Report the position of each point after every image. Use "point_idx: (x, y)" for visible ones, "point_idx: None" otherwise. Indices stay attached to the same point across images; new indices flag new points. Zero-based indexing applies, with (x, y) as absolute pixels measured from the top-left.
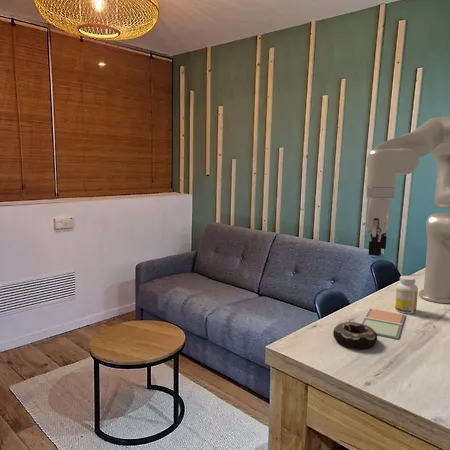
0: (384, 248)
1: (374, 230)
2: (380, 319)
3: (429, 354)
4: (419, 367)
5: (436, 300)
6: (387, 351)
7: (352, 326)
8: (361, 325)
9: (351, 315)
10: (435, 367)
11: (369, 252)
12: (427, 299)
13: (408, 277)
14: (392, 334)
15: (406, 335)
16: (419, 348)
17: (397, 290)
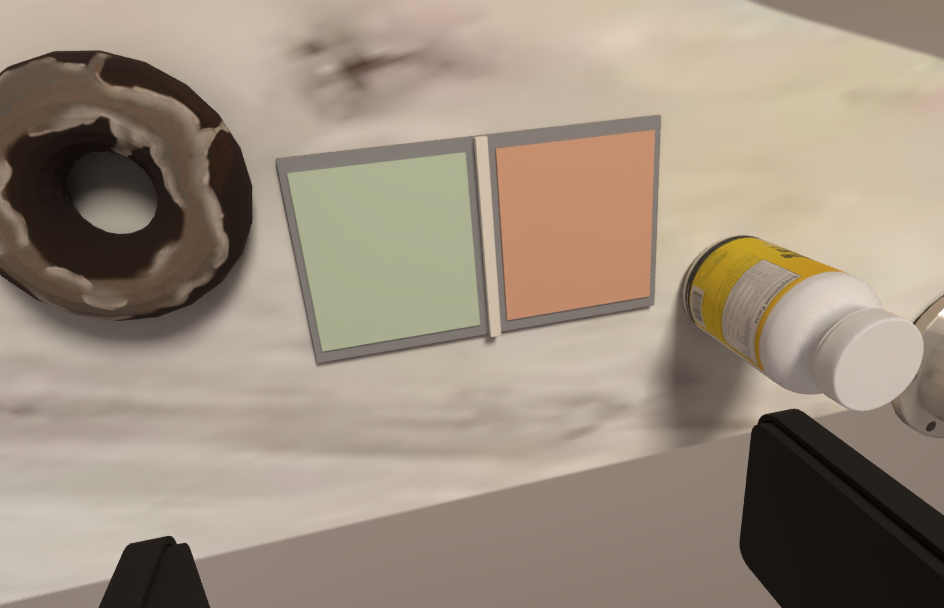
0: (743, 550)
1: None
2: (513, 220)
3: (250, 496)
4: (82, 503)
5: None
6: (135, 361)
7: (148, 166)
8: (183, 218)
9: (506, 39)
10: None
11: (121, 584)
12: None
13: (885, 368)
14: (339, 331)
15: (397, 373)
16: (284, 453)
17: (785, 284)
